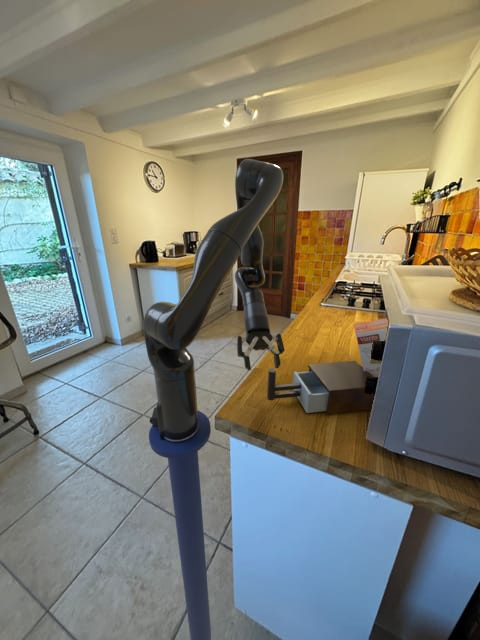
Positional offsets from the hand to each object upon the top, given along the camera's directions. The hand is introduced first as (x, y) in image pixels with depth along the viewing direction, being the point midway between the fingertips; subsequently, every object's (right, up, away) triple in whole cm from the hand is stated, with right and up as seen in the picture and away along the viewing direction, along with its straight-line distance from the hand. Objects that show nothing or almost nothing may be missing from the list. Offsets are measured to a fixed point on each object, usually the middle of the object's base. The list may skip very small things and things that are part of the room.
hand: (263, 368), depth 75 cm
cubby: (+23, -8, 0) cm, 24 cm away
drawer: (+12, -8, -2) cm, 15 cm away
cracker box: (+39, -4, +1) cm, 39 cm away
